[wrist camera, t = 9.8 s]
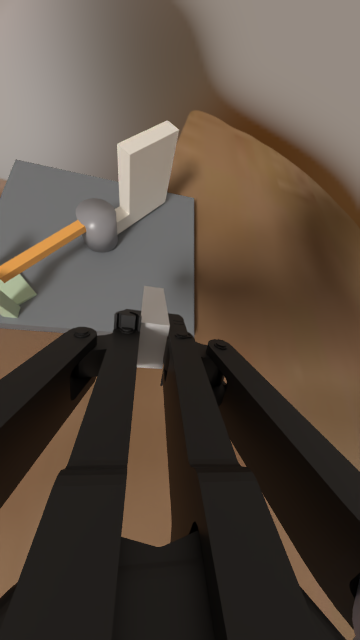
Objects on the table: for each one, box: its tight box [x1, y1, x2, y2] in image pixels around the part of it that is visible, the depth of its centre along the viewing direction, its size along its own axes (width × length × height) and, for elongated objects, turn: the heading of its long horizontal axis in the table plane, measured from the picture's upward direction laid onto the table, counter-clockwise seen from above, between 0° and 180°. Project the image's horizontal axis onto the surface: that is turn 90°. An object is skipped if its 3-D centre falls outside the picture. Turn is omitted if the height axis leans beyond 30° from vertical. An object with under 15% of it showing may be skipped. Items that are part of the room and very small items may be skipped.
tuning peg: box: [0, 120, 179, 283], centre depth 22 cm, size 22×4×9 cm, turn 139°
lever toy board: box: [0, 160, 194, 337], centre depth 25 cm, size 24×22×8 cm
